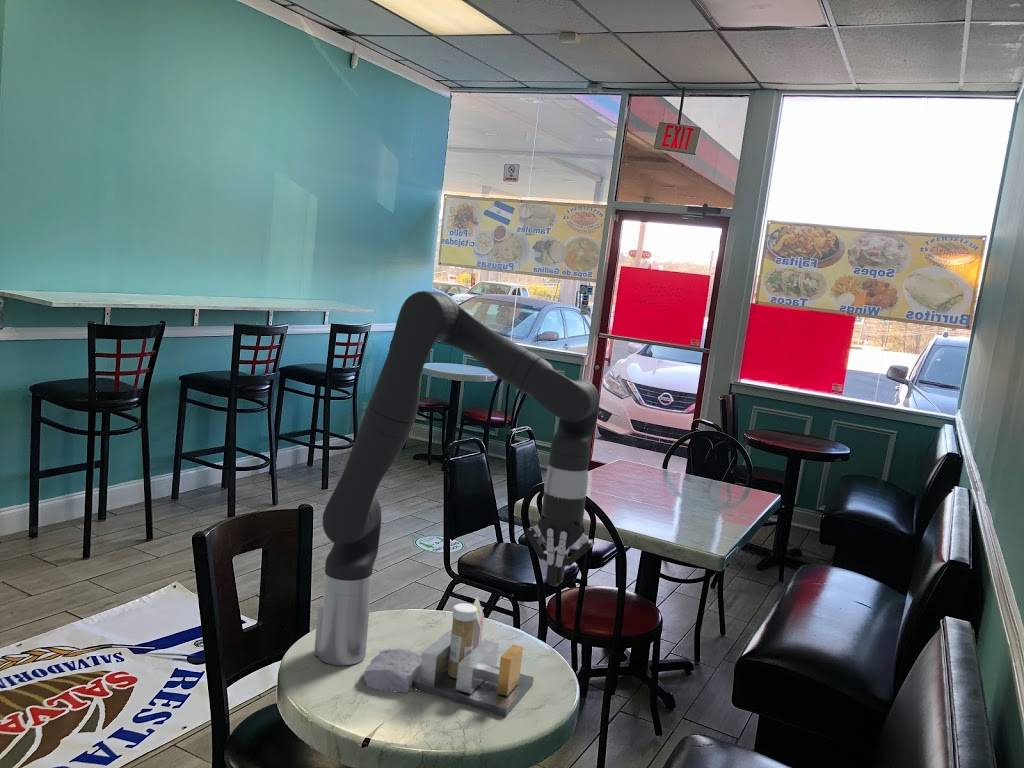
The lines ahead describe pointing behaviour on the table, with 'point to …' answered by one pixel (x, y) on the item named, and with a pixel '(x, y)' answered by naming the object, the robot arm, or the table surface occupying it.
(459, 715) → the table surface
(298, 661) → the table surface
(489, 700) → the vise
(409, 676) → the stone block
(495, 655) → the sliding jaw
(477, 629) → the tea box
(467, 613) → the sprinkles bottle
